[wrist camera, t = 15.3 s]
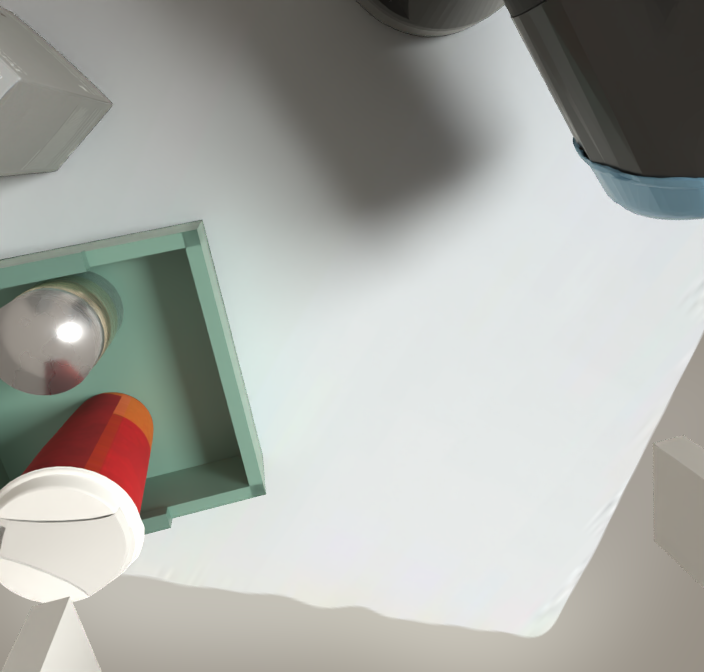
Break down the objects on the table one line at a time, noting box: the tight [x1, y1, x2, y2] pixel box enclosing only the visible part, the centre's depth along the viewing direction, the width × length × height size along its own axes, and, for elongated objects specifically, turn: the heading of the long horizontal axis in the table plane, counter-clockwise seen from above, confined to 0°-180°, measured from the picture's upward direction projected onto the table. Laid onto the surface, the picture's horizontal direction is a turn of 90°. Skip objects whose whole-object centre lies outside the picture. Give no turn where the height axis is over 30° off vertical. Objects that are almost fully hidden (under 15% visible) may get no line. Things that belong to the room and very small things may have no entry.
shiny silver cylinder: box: [0, 271, 124, 396], centre depth 38 cm, size 6×6×9 cm
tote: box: [0, 220, 266, 535], centre depth 42 cm, size 20×20×7 cm
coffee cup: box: [0, 392, 153, 603], centre depth 38 cm, size 8×8×15 cm
